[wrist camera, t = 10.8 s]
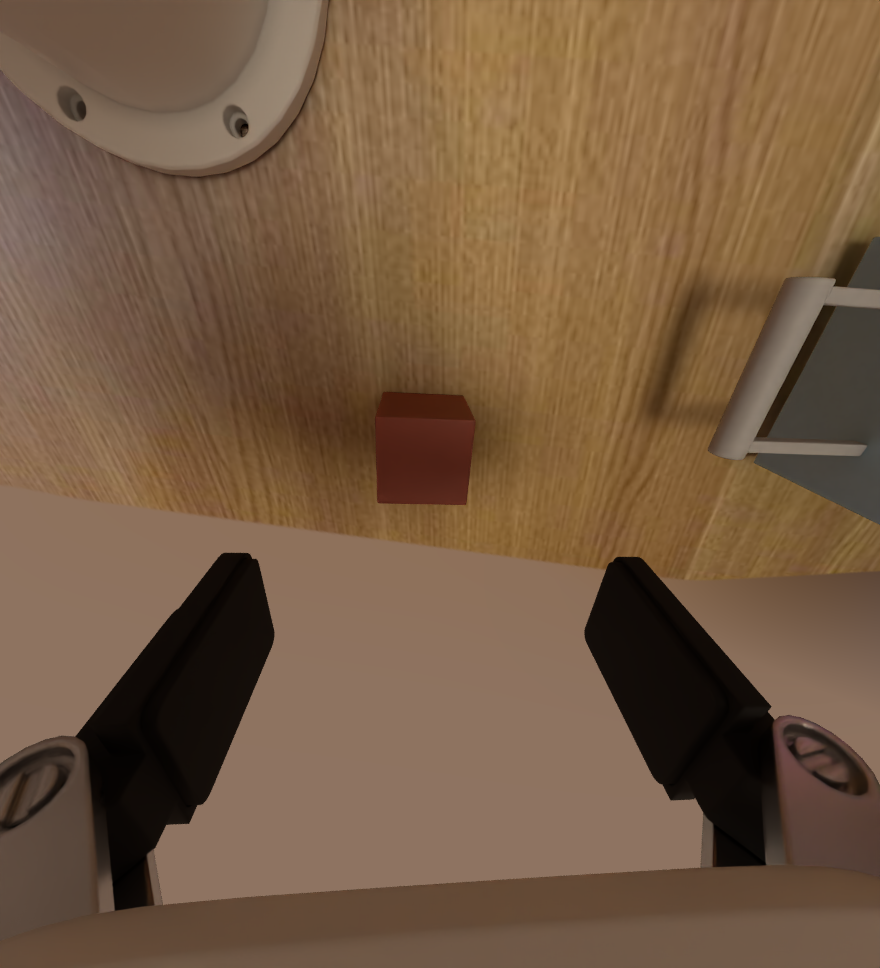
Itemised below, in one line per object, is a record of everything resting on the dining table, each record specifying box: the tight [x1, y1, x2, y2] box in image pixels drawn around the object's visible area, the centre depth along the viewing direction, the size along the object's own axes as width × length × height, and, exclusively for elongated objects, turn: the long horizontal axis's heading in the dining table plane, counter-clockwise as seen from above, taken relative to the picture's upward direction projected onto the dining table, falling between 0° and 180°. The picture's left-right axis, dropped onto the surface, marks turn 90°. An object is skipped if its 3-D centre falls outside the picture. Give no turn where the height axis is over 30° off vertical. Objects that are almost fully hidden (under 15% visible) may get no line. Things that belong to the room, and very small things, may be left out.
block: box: [375, 392, 476, 505], centre depth 18 cm, size 4×4×4 cm
